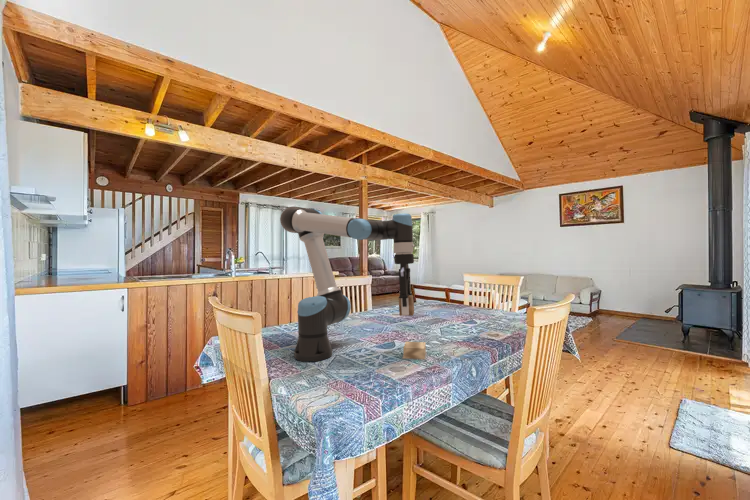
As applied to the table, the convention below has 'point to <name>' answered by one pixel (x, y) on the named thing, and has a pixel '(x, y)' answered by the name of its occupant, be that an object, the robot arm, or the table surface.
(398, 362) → the table surface
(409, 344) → the maple base
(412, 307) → the walnut block
